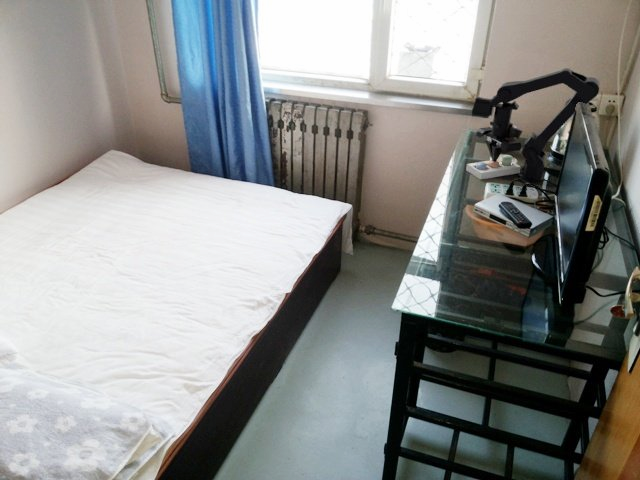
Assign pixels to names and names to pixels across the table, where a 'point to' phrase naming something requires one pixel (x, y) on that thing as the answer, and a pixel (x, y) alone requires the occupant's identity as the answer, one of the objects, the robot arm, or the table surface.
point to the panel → (492, 170)
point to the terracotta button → (493, 164)
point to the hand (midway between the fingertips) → (494, 161)
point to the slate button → (481, 166)
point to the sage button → (506, 160)
